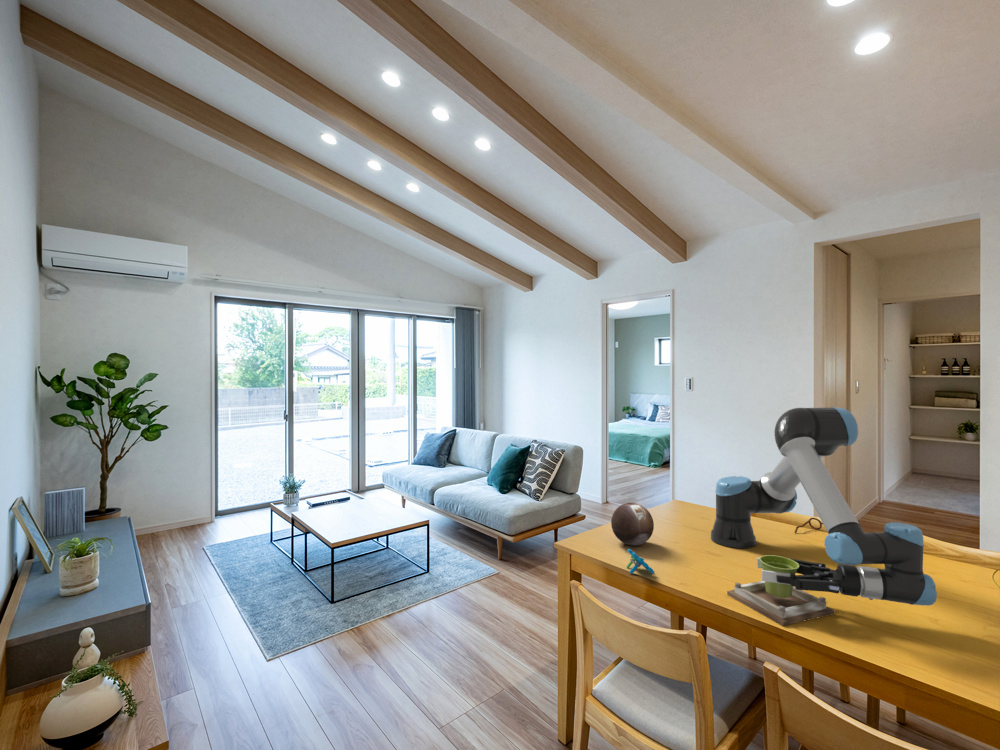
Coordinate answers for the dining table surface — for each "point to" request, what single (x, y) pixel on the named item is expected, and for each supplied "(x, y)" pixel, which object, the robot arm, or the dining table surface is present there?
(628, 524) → the wooden sphere
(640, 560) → the blue plastic toy
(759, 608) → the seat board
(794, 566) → the plant pot
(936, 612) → the dining table surface
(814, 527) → the glasses
